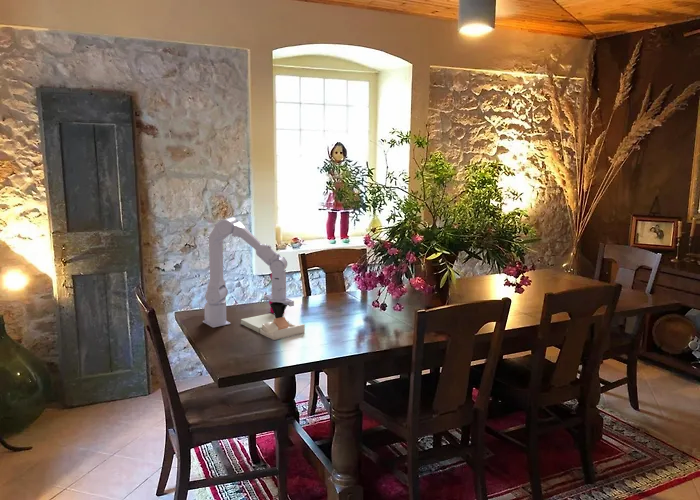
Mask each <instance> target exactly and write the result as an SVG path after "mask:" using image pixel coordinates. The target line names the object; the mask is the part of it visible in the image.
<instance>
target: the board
mask: <svg viewBox="0 0 700 500" xmlns="http://www.w3.org/2000/svg"><path fill="white" fill-rule="evenodd" d="M274 319H275V314H274V313H271V312H270V313H265V314H260V315H256V316H251V317H245V318H241V319H240V324H241V325H242V326H244V327H246V328H248V329H251V330H252V331H255V332H257V333H258V334H260V329H262V324H265V323H270V322H273V321H274ZM286 321H287V323H290V321H288V320H287V319H286Z"/></svg>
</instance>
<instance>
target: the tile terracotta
mask: <svg viewBox="0 0 700 500" xmlns="http://www.w3.org/2000/svg"><path fill="white" fill-rule="evenodd" d="M286 320H287V319H286V316H283V317H281V318H275V319H274V321H273V323H274V324H275V325H276V326H277V327H278V330H281V329H285V328H288V326H289V324H288V323H287V321H288V320H287V321H286Z"/></svg>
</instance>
